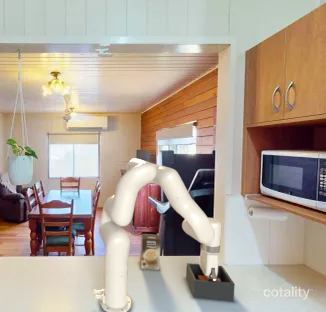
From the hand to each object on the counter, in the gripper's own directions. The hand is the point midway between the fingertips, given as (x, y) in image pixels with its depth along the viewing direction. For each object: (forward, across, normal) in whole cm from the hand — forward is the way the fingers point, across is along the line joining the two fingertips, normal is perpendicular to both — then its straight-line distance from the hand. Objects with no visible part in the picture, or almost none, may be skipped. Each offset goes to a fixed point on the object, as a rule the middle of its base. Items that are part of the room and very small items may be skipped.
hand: (207, 285), depth 108 cm
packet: (+1, 0, 0) cm, 1 cm away
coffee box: (+2, -15, -24) cm, 28 cm away
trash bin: (+2, 0, 0) cm, 2 cm away
